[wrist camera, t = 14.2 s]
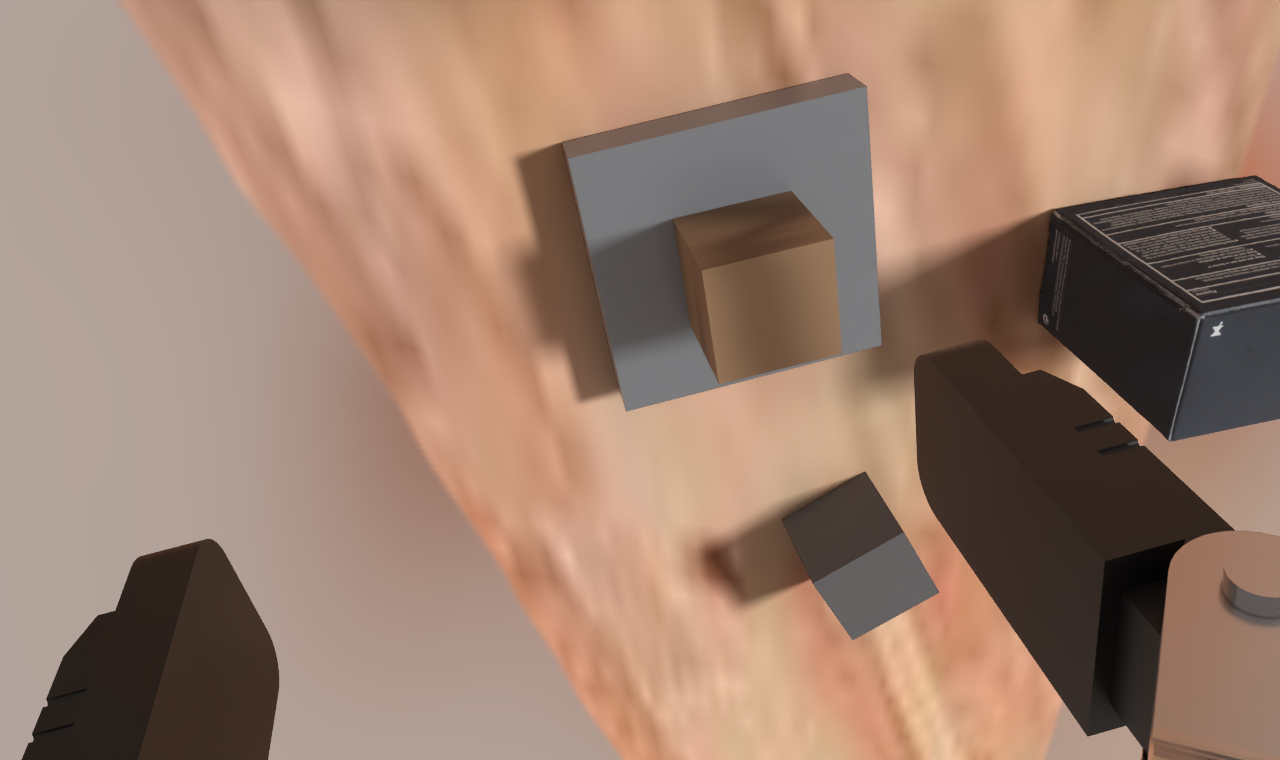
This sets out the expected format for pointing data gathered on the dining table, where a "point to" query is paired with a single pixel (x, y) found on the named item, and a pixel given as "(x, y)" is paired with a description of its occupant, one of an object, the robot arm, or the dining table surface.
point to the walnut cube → (759, 285)
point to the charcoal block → (859, 556)
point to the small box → (1174, 301)
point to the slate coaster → (712, 178)
